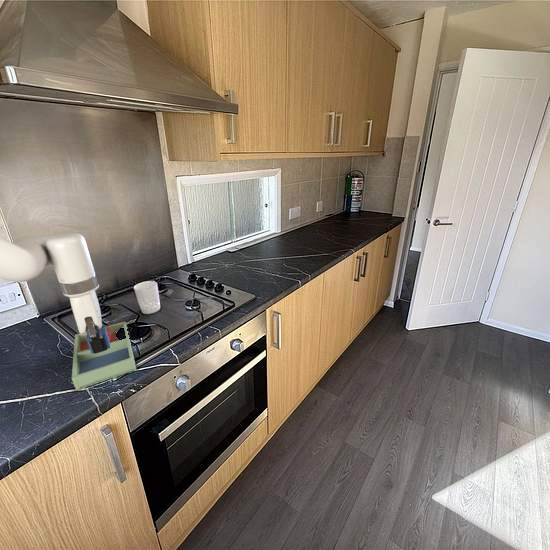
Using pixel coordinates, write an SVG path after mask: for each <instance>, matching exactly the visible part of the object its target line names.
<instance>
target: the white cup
mask: <svg viewBox="0 0 550 550" xmlns="http://www.w3.org/2000/svg"><path fill="white" fill-rule="evenodd" d="M133 290H134V294H135V297H136V300H137V303H138V306H139V309H140V311H141V313H142V314H144V315H150V314H154V313H156V312H158V311H160V309H161V301H160V292H159V287H158V283H157V281H154V280H147V281H142V282H139V283H137V284H135V285H134V286H133Z"/></svg>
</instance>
